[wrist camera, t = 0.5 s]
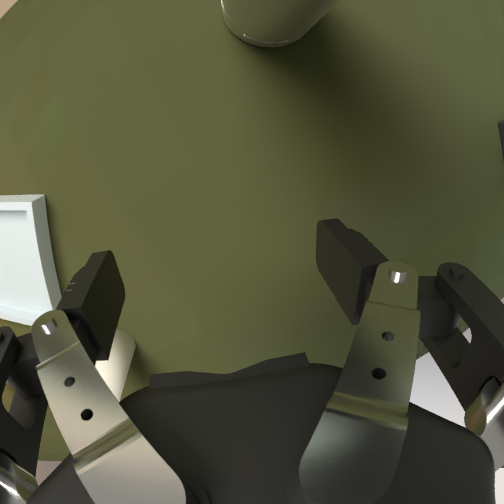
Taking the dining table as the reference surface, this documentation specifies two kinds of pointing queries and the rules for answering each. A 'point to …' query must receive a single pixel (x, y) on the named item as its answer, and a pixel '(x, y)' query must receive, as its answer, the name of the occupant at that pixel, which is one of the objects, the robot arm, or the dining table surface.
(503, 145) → the dark grey box
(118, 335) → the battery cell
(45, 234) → the pale blue square tray
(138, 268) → the dining table surface
